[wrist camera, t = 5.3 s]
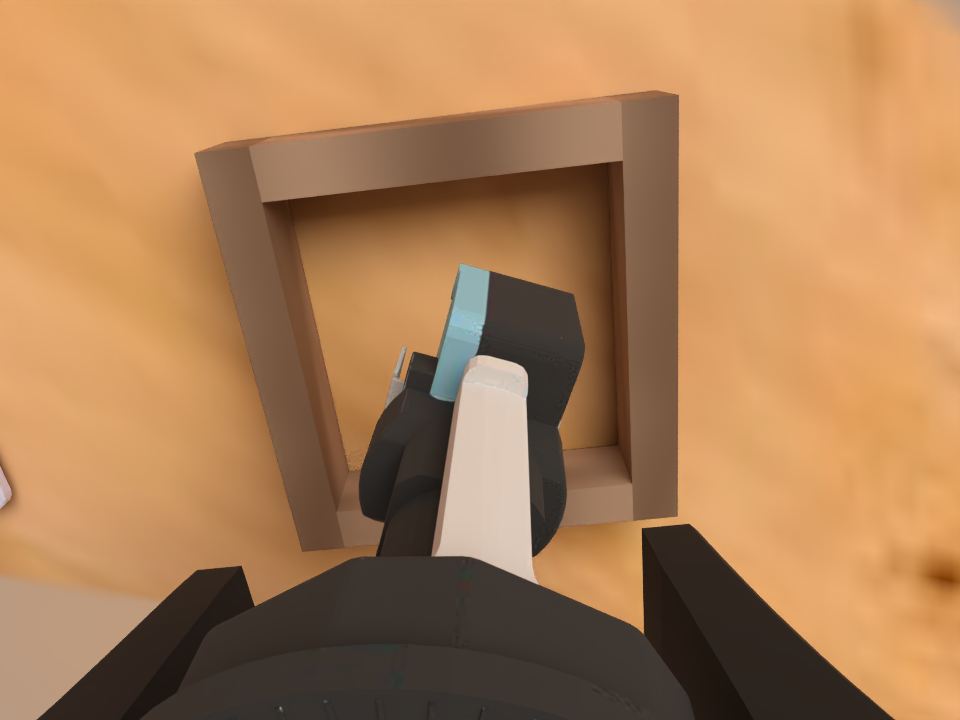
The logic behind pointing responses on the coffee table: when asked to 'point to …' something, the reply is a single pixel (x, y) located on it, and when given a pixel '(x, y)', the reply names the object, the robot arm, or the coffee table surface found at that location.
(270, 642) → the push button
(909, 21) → the coffee table surface
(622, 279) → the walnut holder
